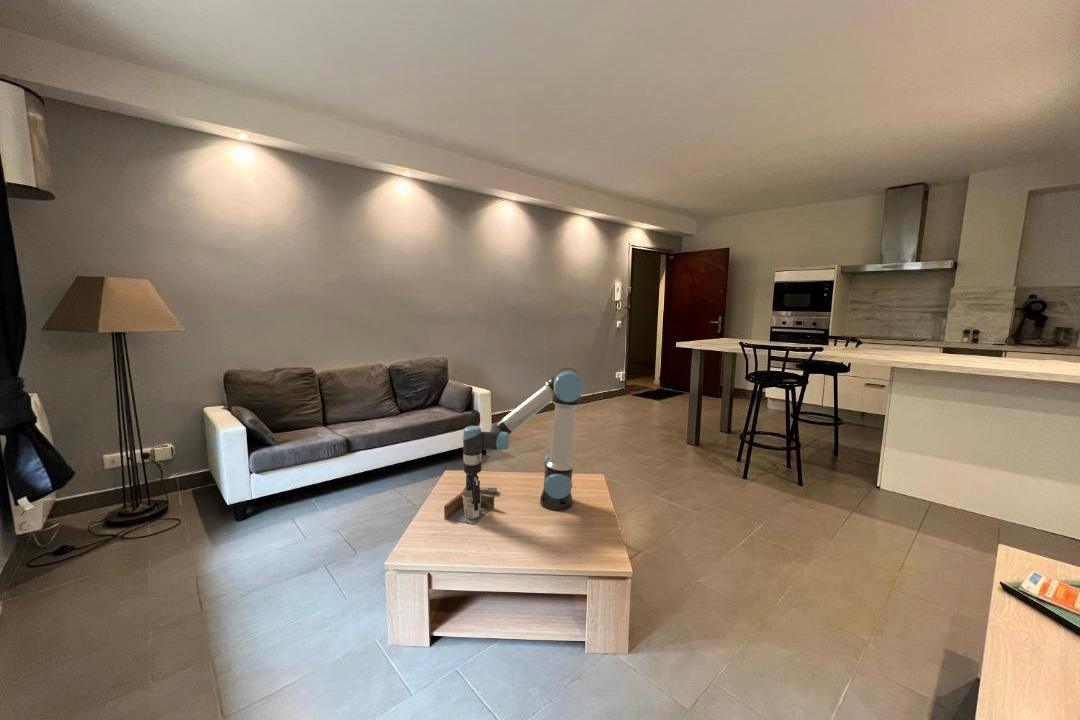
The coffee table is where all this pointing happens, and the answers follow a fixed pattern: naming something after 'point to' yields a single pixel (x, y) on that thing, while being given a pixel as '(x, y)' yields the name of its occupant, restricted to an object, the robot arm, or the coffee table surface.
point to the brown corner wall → (457, 503)
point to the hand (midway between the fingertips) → (473, 512)
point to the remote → (487, 490)
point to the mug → (469, 503)
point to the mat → (461, 517)
